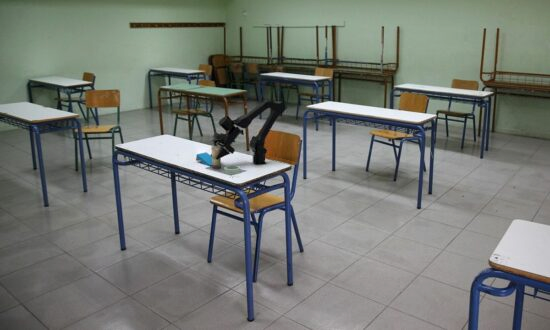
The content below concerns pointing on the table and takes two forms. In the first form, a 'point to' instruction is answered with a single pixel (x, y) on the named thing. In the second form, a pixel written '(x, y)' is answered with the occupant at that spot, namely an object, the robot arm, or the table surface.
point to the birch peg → (215, 151)
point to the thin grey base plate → (228, 169)
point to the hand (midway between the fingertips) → (213, 157)
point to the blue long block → (204, 158)
